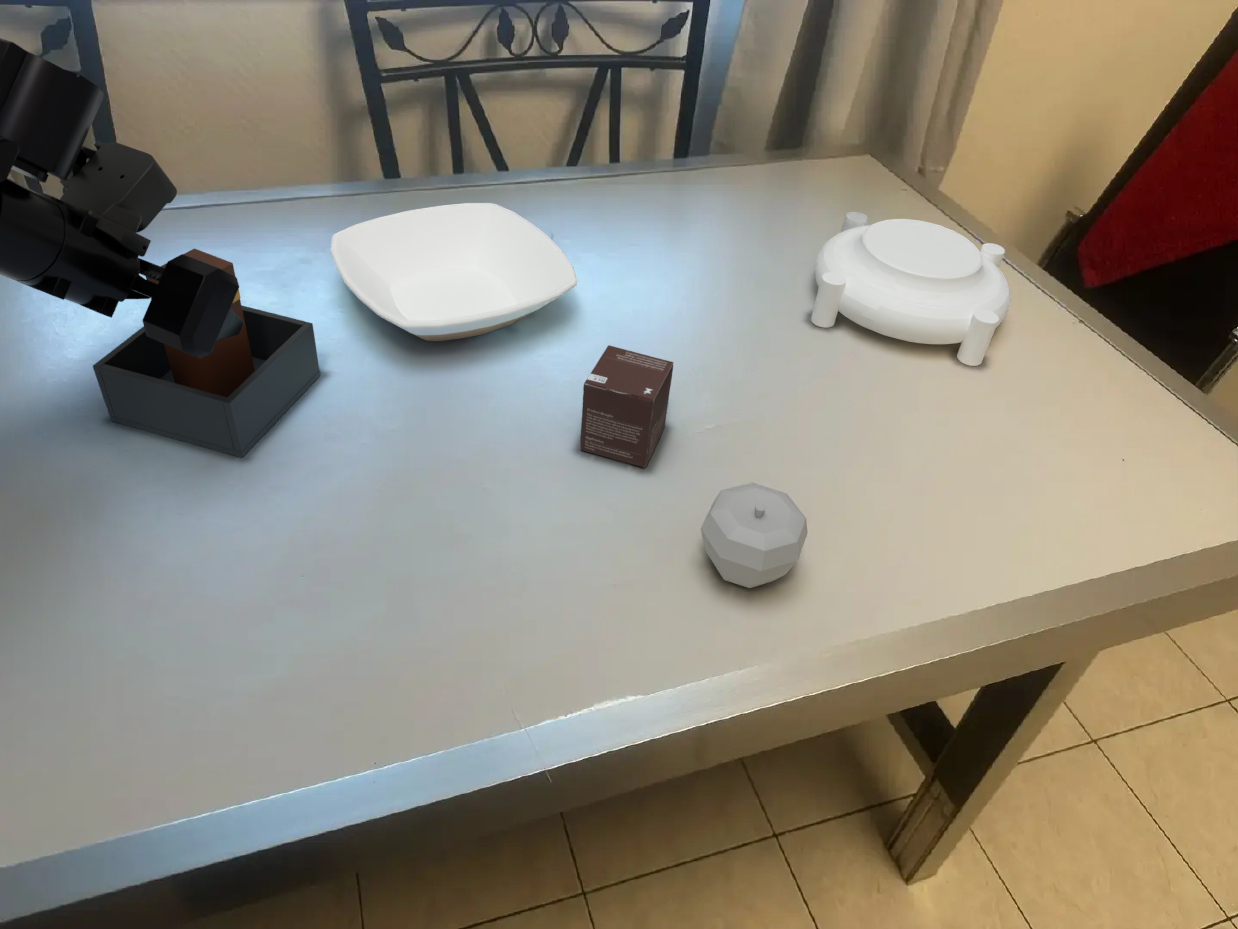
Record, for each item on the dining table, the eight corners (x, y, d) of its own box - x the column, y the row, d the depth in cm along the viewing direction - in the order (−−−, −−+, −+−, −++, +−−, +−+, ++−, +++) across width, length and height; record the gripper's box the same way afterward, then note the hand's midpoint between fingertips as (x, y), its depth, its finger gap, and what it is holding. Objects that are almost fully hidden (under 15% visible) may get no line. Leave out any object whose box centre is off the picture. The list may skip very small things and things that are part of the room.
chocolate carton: (215, 415, 79) (184, 290, 72) (178, 399, 81) (143, 274, 73) (258, 384, 83) (234, 262, 75) (222, 369, 84) (194, 247, 76)
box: (666, 429, 84) (676, 361, 79) (645, 470, 80) (654, 401, 75) (601, 411, 85) (607, 342, 81) (577, 450, 81) (582, 381, 76)
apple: (736, 516, 77) (751, 455, 72) (817, 571, 73) (837, 509, 69) (671, 565, 72) (682, 503, 68) (753, 626, 68) (770, 564, 64)
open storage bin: (110, 421, 79) (92, 365, 75) (200, 344, 88) (188, 291, 84) (242, 458, 77) (229, 403, 73) (320, 375, 86) (312, 323, 82)
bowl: (501, 235, 108) (501, 191, 104) (601, 332, 95) (605, 286, 91) (312, 275, 98) (306, 229, 95) (395, 390, 85) (390, 341, 82)
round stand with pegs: (919, 238, 116) (937, 183, 112) (1063, 344, 101) (1091, 285, 96) (753, 267, 107) (764, 208, 103) (882, 389, 92) (903, 326, 87)
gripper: (189, 161, 59) (328, 251, 74) (-22, 87, 64) (147, 185, 79) (117, 328, 58) (271, 384, 73) (-89, 240, 64) (93, 309, 79)
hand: (194, 309), depth 76 cm, fingers open, 9 cm apart
